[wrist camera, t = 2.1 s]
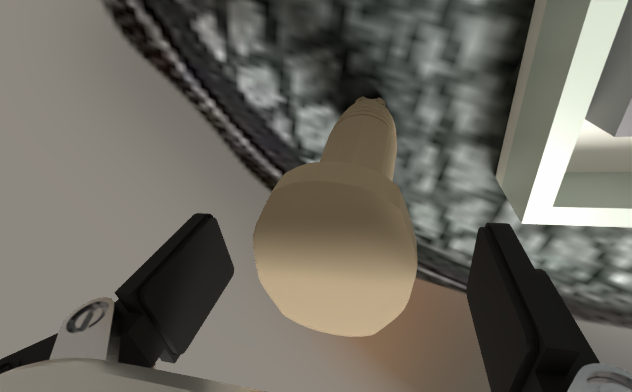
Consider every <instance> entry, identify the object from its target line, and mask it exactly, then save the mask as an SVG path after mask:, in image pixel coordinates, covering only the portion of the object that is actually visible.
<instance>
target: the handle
mask: <svg viewBox="0 0 632 392" xmlns="http://www.w3.org/2000/svg"><path fill="white" fill-rule="evenodd" d="M396 152H397V139H396V129H395V124H394V121H393V118H392V115H391V114H390V112H389V111H388V109H387V108H386V107H385V101H384V100H383V99H381V98H377V99H368V98H365V97H361V98H359V99H357V100H356V101H355V104H354V105H352V106H350V107H349V108H348V109H347V110H346V111H345V112H344V113H343V114H342V116H341V117H340V118H339V120H338V121H337V123H336V124H335V126H334V128H333V130H332V131H331V133H330V135H329V138H328V140H327V143H326V146H325V149H324V152H323V154H322V157H321V160H320V162H315V163H308V164H305V165H302V166H299V167H296V168H294V169H293V170H291V171H289V172H287V173H285V174H284V175H283V176H282V178H281V179H280V181H279V182H278V184H277V185H276V186H275V188H274V189H273V191H272V193H271V195H270V197H269V199H268V201H267V203H266V205H265V207H264V209H263V211H262V213H261V215H260V217H259V220H258V221H257V224H256V227H255V231H254V234H253V248H254V254H255V261H256V267H257V272H258V276H259V279H260V281H261V283H262V285H263V287H264V288H265V290H266V292H267V293H268V294H269V296H270V297H271V299H272V300H273V302H274V303H275V304H276V305H277V307H278V308H279V310H280V311H281V312H282V314H283V315H284V316H286V317H288V318H289V319H291V320H293V321H295V322H297V323H298V324H301V325H303V326H305V327H308V328H311V329H313V330H317V331H321V332H325V333H329V334H334V335H340V336H352V337H357V336H369V335H374V334H375V333H377V332H378V331H379V330H381V329H382V328H383V327H385V326H386V325H387V324H389V323H390V322H391V321H393V320H394V319H395V318H396V317H397V316H398V315H399V314H400V313H401V312H402V311H403V310H404V309H405V306H406V304H407V302H408V300H409V297H410V294H411V291H412V287H413V284H414V281H415V277H416V270H417V245H416V238H415V234H414V230H413V226H412V223H411V220H410V216H409V213H408V210H407V207H406V204H405V201H404V199H403V196H402V194H401V191H400V189H399V187H398V186H397V185H396V184H395V183H394V182H392V179H393V173H394V166H395V160H396Z"/></svg>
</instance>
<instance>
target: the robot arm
mask: <svg viewBox="0 0 632 392" xmlns="http://www.w3.org/2000/svg"><path fill="white" fill-rule="evenodd" d="M233 273H234V266H233V264H232V261H231V258H230V255H229V253H228V250H227V247H226V244H225V242H224V239H223V236H222V234H221V230H220V228H219V225H218V222H217V220H216V219H215V218H213V216H212V215H211V214H201V213H197V214H194V215H193V216H192V217H191V218H190V219H189V220H188V221H187V222H186V223H185V224H184V225H183V226H182V227H181V228H180V229H179V230H178V231H177V232H176V233H175V234H174V235H173V236H172V237H171V238H170V239H169V240H168V241H167V242H166V243H165V244H164V245H162V247H160V248H159V250H157V251H156V252H155V253H154V254H153V255H152V257H150V258H149V259H148V260H147V261H146V262H145V263H144V264H143V265H142V266H141V267H140V268H139V269H138V270H137V271H136V272H135V273H134V274H133V275H132V276H131V277H130V278H129V279H128V280H127V281H126V282H125V283H124V284H123V285H122V286H121V287H120V288H119V289H118V290H117V291H116V292H115V294H116V295H117V297H118V298H119V299H118V300H117V301H116V302H114V301H113V300H112V299H111V298H107V297H103V298H98V299H94V300H91V301H89V302H87V303H85V304H83V305H82V306H80V307H78V308H77V309H76V310H74V311H73V312H72V313H71V314H70V315H69V316H68V317H67V318H66V319H65V320H64V322H63V323H62V326H61V327H60V330H59V333H57V334H55V335H53V336H51V337H49V338H46V339H45V340H42V341H40V342H38V343H35V344H33V345H31V346H29V347H27V348H24V349H22V350H20V351H18V352H16V353H14V354H11V355H9V356H7V357H5V358H3V359H1V360H0V392H265V391H260V390H256V389H250V388H246V387H240V386H236V385H231V384H226V383H221V382H216V381H212V380H207V379H201V378H196V377H191V376H186V375H181V374H176V373H171V372H166V371H161V370H156V369H155V366H156V364H155V362H156V361H157V359H158V358H160V359H161V360H162V361H165V362H170V363H175V362H176V361H177V359H178V358H179V356H180V354H183V353H184V352H185V351H186V349H187V348H188V347H189V345H190V343H191V342H192V340H193V339H194V337H195V335H196V334H197V332H198V331H199V329H200V327H201V326H202V324H203V323H204V321H205V319H206V318H207V316H208V315H209V313H210V311H211V310H212V308H213V307H214V305H215V303H216V302H217V300H218V298H219V297H220V295H221V294H222V292H223V291H224V289H225V287H226V286H227V284H228V283H229V281H230V279H231V278H232V276H233ZM467 299H468V303H469V307H470V311H471V315H472V319H473V323H474V326H475V330H476V334H477V338H478V342H479V345H480V349H481V354H482V357H483V361H484V365H485V369H486V373H487V376H488V381H489V385H490V388H491V392H632V373H630V372H628V371H626V370H624V369H622V368H619V367H615V366H612V365H608V364H600V363H599V360H598V359H597V357H596V355H595V354H594V352H593V350H592V349H591V347H590V345H589V344H588V342H587V340H586V339H585V337H584V335H583V334H582V332H581V331H580V328H579V327H578V325H577V323H576V322H575V320H574V318H573V317H572V315H571V313H570V312H569V310H568V308H567V307H566V305H565V303H564V301H563V300H562V298H561V296H560V295H559V293H558V291H557V290H556V288H555V286H554V285H553V283H552V281H551V280H550V278H549V276H548V275H547V274H546V272H545V271H543V270H542V269H534V267H533V265H532V263H531V262H530V260H529V258H528V256H527V254H526V253H525V251H524V249H523V247H522V245H521V244H520V242H519V240H518V238H517V236H516V235H515V233H514V231H513V229H512V227H511V226H510V224H506V223H487V224H486V225H485V227H480V228H479V230H478V234H477V239H476V244H475V249H474V254H473V259H472V264H471V268H470V273H469V278H468V283H467Z"/></svg>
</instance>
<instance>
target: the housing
mask: <svg viewBox="0 0 632 392" xmlns="http://www.w3.org/2000/svg"><path fill="white" fill-rule="evenodd" d="M495 178H496V180H497V181H498V183H499V185H500V187H501V188H502V190H503V192H504V194H505V195H506V197H507V199H508V201H509V202H510V204H511V206H512V208H513V209H514V211H515V213H516V215H517V216H518V218H519V220H520V222H521V223H523V224H551V225H578V226H606V227H632V0H535V4H534V9H533V13H532V18H531V22H530V27H529V31H528V35H527V40H526V44H525V49H524V53H523V57H522V62H521V66H520V71H519V75H518V80H517V84H516V88H515V93H514V97H513V102H512V106H511V110H510V115H509V119H508V124H507V128H506V133H505V137H504V141H503V146H502V150H501V155H500V159H499V163H498V168H497V172H496V177H495Z"/></svg>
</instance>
